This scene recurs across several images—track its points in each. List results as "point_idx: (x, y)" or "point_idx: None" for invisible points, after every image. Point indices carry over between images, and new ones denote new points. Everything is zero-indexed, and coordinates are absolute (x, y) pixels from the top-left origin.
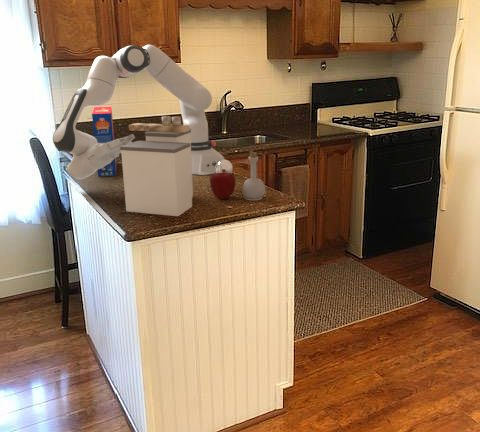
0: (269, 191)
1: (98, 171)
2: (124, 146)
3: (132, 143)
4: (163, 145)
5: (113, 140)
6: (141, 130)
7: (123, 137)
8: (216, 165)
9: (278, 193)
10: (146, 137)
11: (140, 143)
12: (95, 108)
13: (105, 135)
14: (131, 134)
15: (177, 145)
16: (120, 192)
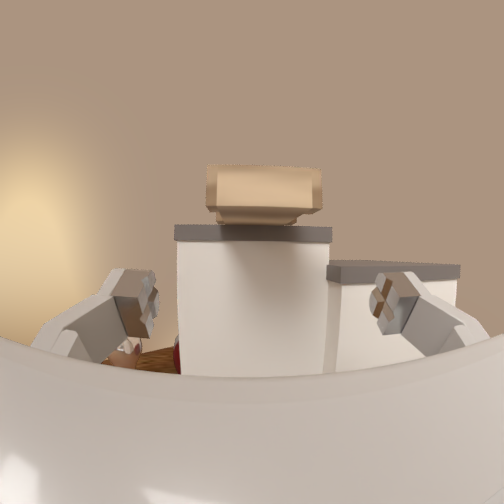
0: (151, 353)
1: None
2: (446, 264)
3: (401, 265)
4: (351, 261)
5: None
6: (292, 219)
7: (20, 346)
8: (126, 342)
9: (163, 348)
10: (328, 248)
11: (378, 264)
12: None
13: None
14: (135, 269)
15: (330, 260)
16: None
